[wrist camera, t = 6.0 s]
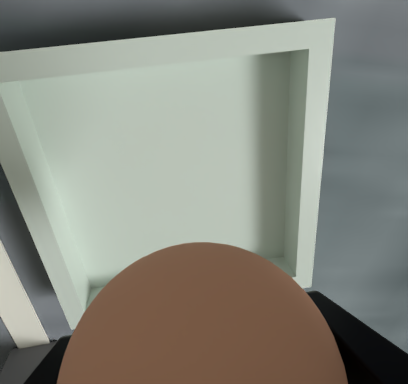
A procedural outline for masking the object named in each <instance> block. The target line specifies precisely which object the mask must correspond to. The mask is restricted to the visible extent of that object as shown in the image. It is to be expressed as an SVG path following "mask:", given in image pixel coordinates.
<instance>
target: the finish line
mask: <svg viewBox="0 0 408 384" xmlns="http://www.w3.org/2000/svg"><path fill="white" fill-rule="evenodd" d="M0 317H1V318H2V320H3V322H4V324H5V325H6V327H7V329H8V331H9V333H10V334H11V336H12V338H13V340H14V341H15V343H16V345H17V347H18V348H14V349H11V351H10V353H9V355H8V358H7V360H6V362H5V364H4V366H3V368H2V370H1V372H0V384H23V383H24V382H25V380H26V379H27V378H28V377H29V375H30V374H31V373H32V372H33V370H34V369H35V368H36V367H37V366H38V364H39V363H40V362H41V361H42V359H43V358H44V357H45V356H46V354H47V353H48V352H49V351H50V349H51V348H52V347H53V346H54V345H55V343H56V342H57V341H53V342H50V341H49V339H48V337H47V335H46V333H45V331H44V329H43V326H42V324H41V322H40V320H39V318H38V316H37V314H36V312H35V310H34V308H33V306H32V304H31V302H30V300H29V298H28V295H27V293H26V291H25V289H24V287H23V285H22V283H21V281H20V279H19V277H18V275H17V273H16V271H15V269H14V267H13V264H12V262H11V260H10V258H9V256H8V254H7V252H6V250H5V248H4V246H3V244H2V242H1V240H0Z"/></svg>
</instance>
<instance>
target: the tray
mask: <svg viewBox="0 0 408 384" xmlns="http://www.w3.org/2000/svg"><path fill="white" fill-rule="evenodd" d="M335 19H336V18H328V19H319V20H309V21H299V22H289V23H280V24H270V25H260V26H250V27H240V28H231V29H221V30H211V31H201V32H192V33H182V34H172V35H162V36H153V37H143V38H133V39H123V40H114V41H104V42H94V43H84V44H75V45H65V46H55V47H45V48H35V49H26V50H16V51H6V52H0V163H1V165H2V168H3V170H4V173H5V175H6V177H7V180H8V182H9V184H10V187H11V189H12V191H13V194H14V196H15V198H16V201H17V203H18V205H19V208H20V210H21V213H22V215H23V217H24V220H25V222H26V224H27V227H28V229H29V231H30V234H31V236H32V238H33V241H34V243H35V245H36V248H37V250H38V253H39V255H40V257H41V260H42V262H43V264H44V267H45V269H46V271H47V274H48V276H49V278H50V281H51V283H52V286H53V288H54V290H55V293H56V295H57V297H58V300H59V302H60V304H61V307H62V309H63V311H64V314H65V316H66V318H67V321H68V323H69V326H70V328H71V330H72V329H75V328H76V326H77V324H78V323H79V321H80V319H81V317H82V315H83V313H84V312H85V311H86V309H87V308H88V306H89V305H90V304H91V302H92V301H93V300H94V298H95V297H96V296H97V295H98V293H99V292H100V291H101V290H102V289H103V288H104V287H105V286H106V285H107V284H108V283H109V281H110V280H112V279H113V278H114V277H115V276H116V275H117V274H119V273H120V272H121V271H122V270H124V269H125V268H126V267H128V266H129V265H130V264H132V263H134V262H135V261H137V260H139V259H140V258H142V257H145V256H147V255H149V254H151V253H153V252H155V251H158V250H161V249H164V248H167V247H170V246H174V245H179V244H183V243H193V242H211V243H220V244H227V245H231V246H236V247H240V248H242V249H245V250H248V251H250V252H253V253H255V254H257V255H259V256H261V257H263V258H265V259H267V260H268V261H270V262H272V263H273V264H275V265H276V266H277V267H279V268H280V269H281V270H283V271H284V272H285V273H287V274H288V275H289V276H291V277H292V278H293V279H294V280H295V281H296V282H297V284H298V285H299V286H300V287H301V288H308V287H311V284H312V273H313V262H314V251H315V240H316V229H317V218H318V207H319V196H320V185H321V174H322V162H323V151H324V140H325V129H326V118H327V107H328V96H329V85H330V74H331V63H332V52H333V41H334V30H335Z"/></svg>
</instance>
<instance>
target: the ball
mask: <svg viewBox="0 0 408 384" xmlns="http://www.w3.org/2000/svg"><path fill="white" fill-rule="evenodd" d="M57 384H348V380H347V376H346V371H345V366H344V363H343V360H342V358H341V355H340V352H339V349H338V346H337V344H336V341H335V338H334V336H333V334H332V332H331V330H330V328H329V326H328V324H327V322H326V320H325V318H324V317H323V315H322V314H321V312H320V310H319V309H318V308H317V306H316V305H315V303H314V302H313V301H312V299H311V298H310V296H309V295H308V294H307V293H306V292H305V291H304V290H303V289H302V288H301V287H300V286H299V285H298V284H297V282H296V281H295V280H294V279H293V278H292V277H291V276H289V275H288V274H287V273H285V272H284V271H283V270H281V269H280V268H279V267H277V266H276V265H275V264H273V263H272V262H270V261H268V260H267V259H265V258H263V257H261V256H259V255H257V254H255V253H253V252H250V251H248V250H245V249H242V248H240V247H236V246H231V245H227V244H220V243H211V242H193V243H183V244H179V245H174V246H170V247H167V248H164V249H161V250H158V251H155V252H153V253H151V254H149V255H147V256H145V257H142V258H140V259H139V260H137V261H135V262H134V263H132V264H130V265H129V266H128V267H126V268H125V269H124V270H122V271H121V272H120V273H119V274H117V275H116V276H115V277H114V278H113V279H112V280H110V281H109V283H108V284H107V285H106V286H105V287H104V288H103V289H102V290H101V291H100V292H99V293H98V295H97V296H96V297H95V298H94V300H93V301H92V302H91V304H90V305H89V306H88V308H87V309H86V311H85V312H84V313H83V315H82V317H81V319H80V321H79V323H78V324H77V326H76V328H75V330H74V332H73V334H72V336H71V338H70V340H69V343H68V346H67V348H66V351H65V354H64V356H63V360H62V363H61V367H60V371H59V375H58V380H57Z"/></svg>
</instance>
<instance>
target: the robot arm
mask: <svg viewBox="0 0 408 384" xmlns="http://www.w3.org/2000/svg"><path fill="white" fill-rule="evenodd" d="M306 293H307V294H308V295H309V296H310V298H311V299H312V301H313V302H314V303H315V305H316V306H317V308H318V309H319V310H320V312H321V314H322V315H323V317H324V318H325V320H326V322H327V324H328V326H329V328H330V330H331V332H332V334H333V336H334V338H335V341H336V344H337V346H338V349H339V352H340V355H341V358H342V360H343V363H344V366H345V371H346V376H347V380H348V384H408V354H407V353H406V352H404V351H403V350H401V349H400V348H399V347H397V346H396V345H394V344H393V343H391V342H390V341H389V340H387V339H386V338H384V337H383V336H381V335H380V334H379V333H377V332H376V331H374V330H373V329H371V328H370V327H369V326H367V325H366V324H364V323H363V322H361V321H360V320H359V319H357V318H356V317H354V316H353V315H351V314H350V313H349V312H347V311H346V310H344V309H343V308H341V307H340V306H339V305H337V304H336V303H334V302H333V301H331V300H330V299H329V298H327V297H326V296H324V295H323V294H321V293H320V292H318V291H309V292H306ZM71 336H72V334H71V335H66V336H62V337H61V338H60V339H59V340H58V341H57V342H56V343H55V345H54V346H53V347H52V348H51V349H50V351H49V352H48V353H47V354H46V356H45V357H44V358H43V359H42V361H41V362H40V363H39V364H38V366H37V367H36V368H35V369H34V370H33V372H32V373H31V374H30V375H29V377H28V378H27V379H26V380H25V382H24V383H23V384H57V380H58V375H59V371H60V367H61V363H62V360H63V356H64V354H65V351H66V348H67V346H68V343H69V340H70V338H71Z"/></svg>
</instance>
